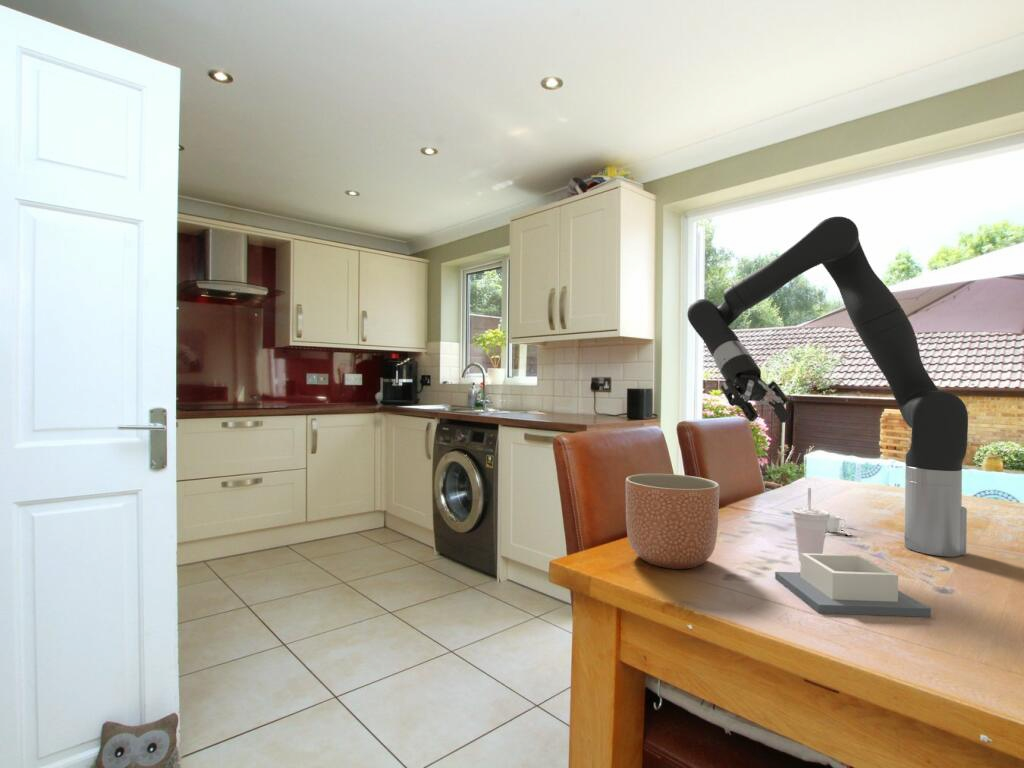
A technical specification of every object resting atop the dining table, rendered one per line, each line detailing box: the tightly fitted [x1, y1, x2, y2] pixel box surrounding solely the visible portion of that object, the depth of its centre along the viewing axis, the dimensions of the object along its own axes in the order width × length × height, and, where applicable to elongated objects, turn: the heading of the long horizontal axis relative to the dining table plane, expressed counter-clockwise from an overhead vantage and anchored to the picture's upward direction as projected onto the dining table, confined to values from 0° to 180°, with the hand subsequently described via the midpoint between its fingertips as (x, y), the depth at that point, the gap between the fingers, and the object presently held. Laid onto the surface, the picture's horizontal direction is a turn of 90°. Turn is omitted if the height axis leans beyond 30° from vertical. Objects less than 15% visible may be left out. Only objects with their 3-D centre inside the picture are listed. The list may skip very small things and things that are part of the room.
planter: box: [625, 473, 720, 570], centre depth 100 cm, size 17×17×15 cm
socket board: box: [774, 553, 932, 618], centre depth 84 cm, size 16×14×5 cm
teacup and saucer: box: [826, 514, 846, 533], centre depth 124 cm, size 9×8×4 cm
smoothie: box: [791, 487, 831, 563], centre depth 101 cm, size 6×6×14 cm
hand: (770, 419), depth 112 cm, fingers open, 8 cm apart
